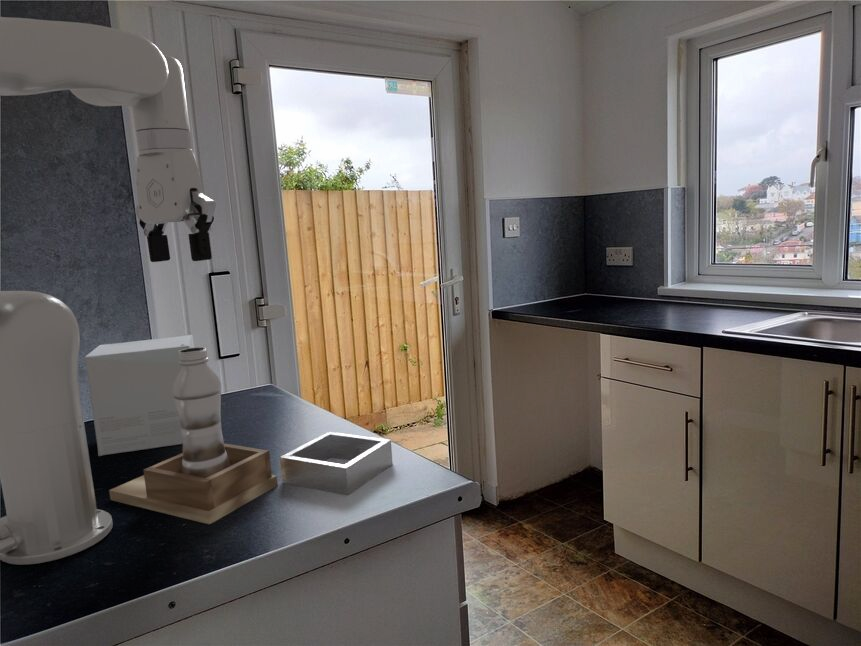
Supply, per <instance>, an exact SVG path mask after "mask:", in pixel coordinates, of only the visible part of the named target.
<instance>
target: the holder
mask: <svg viewBox="0 0 861 646" xmlns="http://www.w3.org/2000/svg"><path fill="white" fill-rule="evenodd" d="M392 451H393V450H392V440H391V439H387V438H386V439H385V438H380V437H373V436H363V435H358V434H357V435H356V434H351V433H350V434H349V433H344V432H343V433H342V432H334V431H327V432H326V433H325V432H324V433H323V434H321V435H319V436H318V437H316V438H314V439H312V440H310V441H308V442H305V443H304V444H302V445H300V446H298V447H297V448H295V449H292V450H291V451H288V452H287V453H285V454H283V455H281V456H279V463H280V474H281V475H280V476H281V483H282V484H287V485H293V486H298V487H303V488H308V489H314V490H319V491H322V492H323V491H324V492H331V493H335V494H340V495H346V496H350V495H351V494H352V493H353V492H355V491H356V490H358V489H359V488H361V487H362V486H364V485H365V484H366V483H368V482H369V481H371V480H372V479H374V478H375V477H377V476H378V475H379V474H381V473H382V472H384V471H385V470H386V469H388V468H389V467H391V466H392V465H394V464H393V452H392ZM332 458H333V459H340V460H345V461H346V460H347V461H348V462H346V463H345V464H343V463H338V462H337V463H336V462H331V461H328V460H331V459H332Z"/></svg>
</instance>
